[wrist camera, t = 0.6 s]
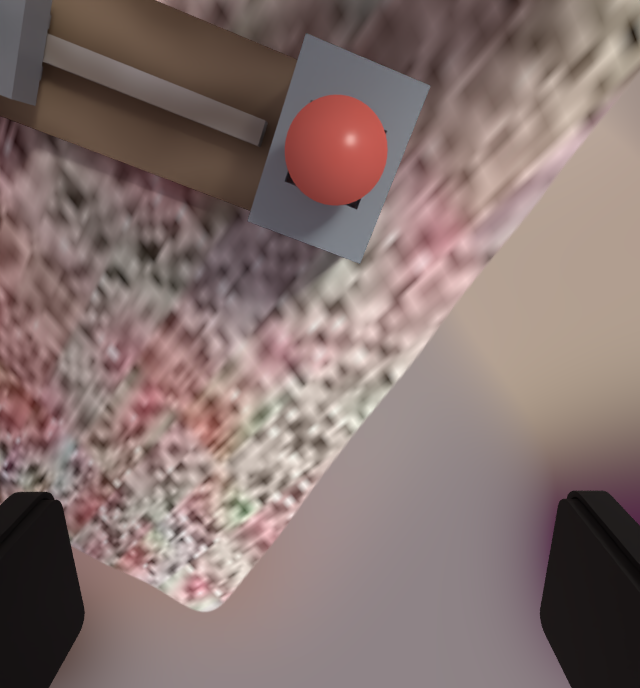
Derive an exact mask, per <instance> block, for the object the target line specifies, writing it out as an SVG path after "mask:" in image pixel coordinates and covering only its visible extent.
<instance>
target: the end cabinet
mask: <svg viewBox="0 0 640 688" xmlns="http://www.w3.org/2000/svg"><path fill="white" fill-rule="evenodd" d="M429 88H430V85H428V84H425V83H423V82H421V81H418V80H416V79H413V78H411V77H409V76H406V75H404V74H402V73H399V72H397V71H395V70H392V69H390V68H387V67H385V66H383V65H380V64H378V63H376V62H373V61H371V60H369V59H366V58H364V57H361V56H359V55H357V54H354V53H352V52H350V51H347V50H345V49H343V48H340V47H338V46H335V45H333V44H331V43H328V42H326V41H324V40H321V39H319V38H317V37H314V36H312V35H309V34H307V33H306V35H305V38H304V41H303V44H302V47H301V51H300V54H299V57H298V60H297V63H296V67H295V70H294V73H293V76H292V80H291V83H290V86H289V89H288V92H287V96H286V99H285V102H284V105H283V108H282V112H281V115H280V118H279V121H278V124H277V128H276V131H275V134H274V137H273V141H272V144H271V147H270V150H269V153H268V157H267V160H266V163H265V166H264V169H263V173H262V176H261V179H260V182H259V186H258V189H257V192H256V195H255V198H254V202H253V205H252V208H251V211H250V214H249V218H248V222H251V223H253V224H256V225H259V226H261V227H264V228H267V229H269V230H272V231H275V232H277V233H280V234H283V235H285V236H288V237H291V238H293V239H296V240H298V241H301V242H304V243H306V244H309V245H312V246H314V247H317V248H320V249H322V250H325V251H328V252H330V253H333V254H336V255H338V256H341V257H344V258H346V259H349V260H352V261H354V262H357V263H359V264H360V262H361V260H362V257H363V255H364V252H365V250H366V247H367V245H368V242H369V240H370V237H371V235H372V232H373V230H374V227H375V225H376V222H377V220H378V217H379V215H380V212H381V210H382V207H383V204H384V202H385V199H386V197H387V194H388V192H389V189H390V187H391V184H392V182H393V179H394V177H395V174H396V172H397V169H398V167H399V164H400V162H401V159H402V157H403V154H404V152H405V149H406V146H407V144H408V141H409V139H410V136H411V134H412V131H413V129H414V126H415V124H416V121H417V119H418V116H419V114H420V111H421V109H422V106H423V104H424V101H425V99H426V96H427V94H428V91H429ZM327 95H346V96H350V97H353V98H356V99H358V100H360V101H362V102H363V103H364V104H366V105H367V106H368V107H369V108H371V109H372V110H373V112H374V113H375V114H376V115H377V117H378V118H379V120H380V121H381V123H382V126H383V128H384V131H385V134H386V139H387V148H388V151H387V160H386V165H385V168H384V171H383V173H382V175H381V178H380V179H379V181H378V182H377V184H376V185H375V186H374V188H373V189H372V190H371V191H370V192H369V193H368V194H366V195H365V196H364V197H362V198H361V199H359V200H357V201H355V202H352V203H349V204H345V205H338V206H336V205H326V204H322V203H319V202H316V201H314V200H312V199H311V198H309V197H307V196H306V195H305V194H304V193H303V192H301V190H300V189H299V188H298V187H297V186H296V185H295V183H294V182H293V180H292V178H291V176H290V174H289V171H288V169H287V165H286V161H285V141H286V136H287V132H288V130H289V127H290V125H291V123H292V121H293V119H294V118H295V117H296V115H297V114H298V113H299V112H300V111H301V110H302V108H304V107H305V106H306V105H307V104H309V103H310V102H312V101H314V100H316V99H318V98H320V97H324V96H327Z"/></svg>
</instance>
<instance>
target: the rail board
mask: <svg viewBox="0 0 640 688" xmlns="http://www.w3.org/2000/svg"><path fill="white" fill-rule="evenodd" d="M50 15H51V21H50V27H49V29H48V31H47V37H46V43H45V50H44V56H43V62H42V67H43V71H42V77H41V80H40V81H39V87H38V93H37V100H36V106H33V105H30V104H26V103H23V102H19V101H16V100H13V99H10V98H7V97H4V96H2V95H0V116H2V117H4V118H7V119H10V120H12V121H15V122H18V123H20V124H23V125H25V126H28V127H31V128H33V129H36V130H39V131H41V132H44V133H47V134H49V135H52V136H54V137H57V138H60V139H62V140H65V141H68V142H70V143H73V144H76V145H78V146H81V147H83V148H86V149H89V150H91V151H94V152H97V153H99V154H102V155H105V156H107V157H110V158H112V159H115V160H118V161H120V162H123V163H126V164H128V165H131V166H133V167H136V168H139V169H141V170H144V171H147V172H149V173H152V174H155V175H157V176H160V177H162V178H165V179H168V180H170V181H173V182H176V183H178V184H181V185H184V186H186V187H189V188H191V189H194V190H197V191H199V192H202V193H205V194H207V195H210V196H213V197H215V198H218V199H220V200H223V201H226V202H228V203H231V204H234V205H236V206H239V207H241V208H244V209H247V210H249V211H251V208H252V205H253V202H254V198H255V195H256V192H257V189H258V186H259V182H260V179H261V176H262V173H263V169H264V166H265V163H266V160H267V157H268V153H269V150H270V147H271V144H272V141H273V137H274V134H275V131H276V128H277V124H278V121H279V118H280V115H281V112H282V108H283V105H284V102H285V99H286V96H287V92H288V89H289V86H290V83H291V80H292V76H293V73H294V70H295V67H296V63H297V59H295V58H292V57H290V56H288V55H285V54H283V53H280V52H278V51H276V50H273V49H271V48H268V47H266V46H264V45H261V44H259V43H256V42H254V41H252V40H249V39H247V38H244V37H242V36H240V35H237V34H235V33H232V32H230V31H228V30H225V29H223V28H220V27H218V26H216V25H213V24H211V23H208V22H206V21H204V20H201V19H199V18H196V17H194V16H192V15H189V14H187V13H184V12H182V11H180V10H177V9H175V8H172V7H170V6H167V5H165V4H163V3H160V2H158V1H155V0H52V6H51V12H50Z"/></svg>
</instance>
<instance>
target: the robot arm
mask: <svg viewBox="0 0 640 688" xmlns="http://www.w3.org/2000/svg"><path fill="white" fill-rule="evenodd" d="M84 614H85V612H84V605H83V600H82V596H81V591H80V586H79V582H78V577H77V573H76V567H75V563H74V559H73V553H72V549H71V544H70V539H69V535H68V530H67V525H66V521H65V516H64V511H63V507H62V504H61V502H60V501H58V500H54V497H53V496H52V494H51V493H48V492H17V493H14V494H12V495H11V496H9V497H8V498H7V499H6V500H5V501H4V502H3V503H2V504H1V505H0V688H49V686H50V685H51V683H52V681H53V679H54V678H55V676H56V674H57V672H58V670H59V668H60V667H61V665H62V663H63V661H64V660H65V658H66V656H67V654H68V652H69V651H70V649H71V647H72V645H73V643H74V642H75V640H76V638H77V636H78V634H79V633H80V630H81V628H82V625H83V621H84ZM540 619H541V624H542V628H543V631H544V633H545V635H546V637H547V639H548V641H549V643H550V645H551V647H552V649H553V651H554V653H555V655H556V657H557V659H558V661H559V663H560V665H561V667H562V669H563V672H564V673H565V675H566V678H567V680H568V681H569V684H570V686H571V687H572V688H640V526H639V525H638V523H637V522H635V520H634V519H633V518H632V517H631V516H630V515H629V514H628V513H627V512H626V511H625V510H624V509H623V508H622V507H621V505H620V504H619V503H618V502H617V501H616V500H615V499H614V498H613V497H612V496H611V495H610V494H609V493H607V492H605V491H572V492H570V493H569V494H568V496H567V499H562V500H560V502H559V505H558V509H557V515H556V521H555V526H554V532H553V538H552V544H551V550H550V555H549V561H548V567H547V573H546V578H545V584H544V590H543V597H542V601H541V607H540Z"/></svg>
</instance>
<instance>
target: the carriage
mask: <svg viewBox="0 0 640 688" xmlns="http://www.w3.org/2000/svg"><path fill="white" fill-rule="evenodd" d="M51 6H52V0H0V95H2V96H4V97H7V98H10V99H13V100H16V101H19V102H23V103H26V104H30V105H33V106H36V100H37V93H38V87H39V81H40V80H41V77H42V71H43V67H42V62H43V56H44V50H45V43H46V37H47V31H48V29H49V27H50V21H51V15H50V12H51Z"/></svg>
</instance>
